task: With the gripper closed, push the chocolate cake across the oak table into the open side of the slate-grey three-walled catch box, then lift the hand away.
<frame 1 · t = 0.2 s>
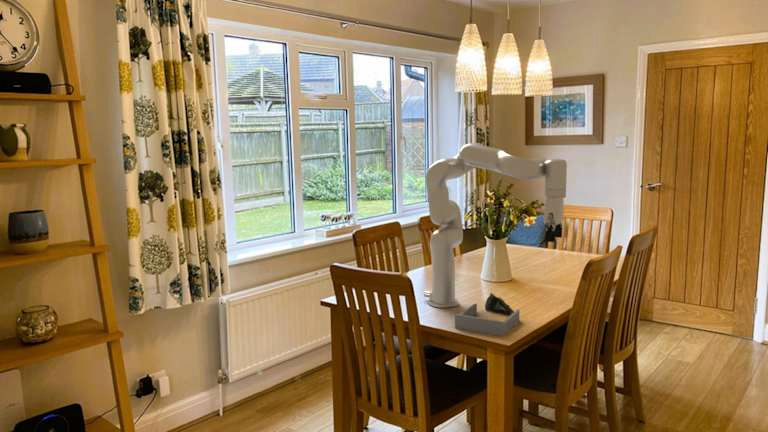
hand: (554, 239, 212), 31 cm above the table, tool pointing down, fingers open, 9 cm apart
chocolate cake: (502, 312, 228), on the table
catch box: (488, 323, 214), on the table
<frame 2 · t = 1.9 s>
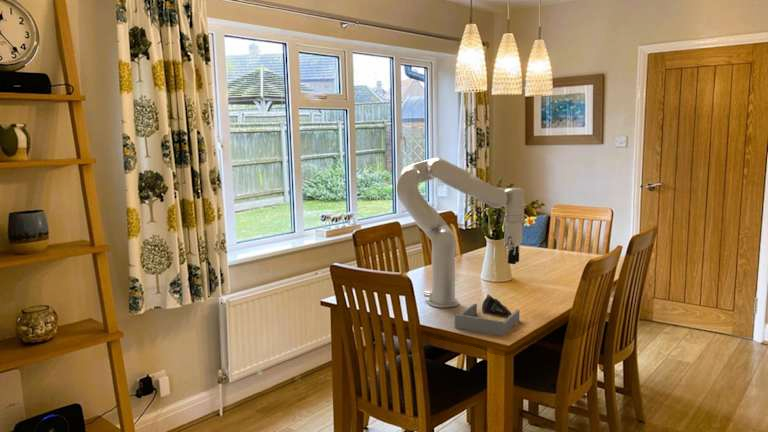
hand: (513, 262, 236), 17 cm above the table, tool pointing down, fingers open, 3 cm apart
chocolate cake: (499, 314, 226), on the table
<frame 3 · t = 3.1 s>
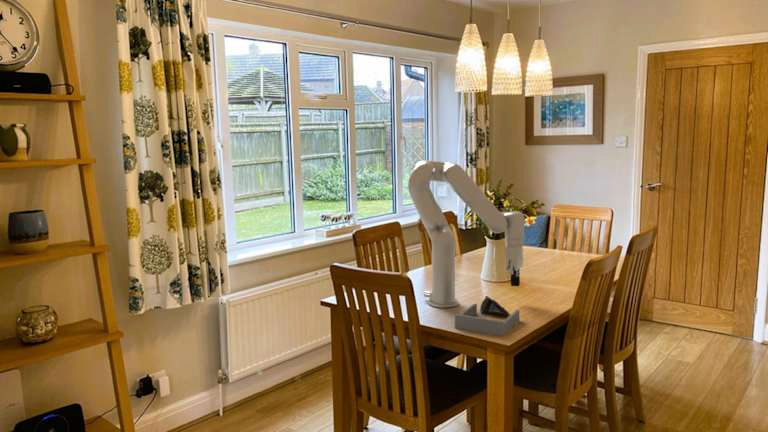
hand: (515, 285, 237), 7 cm above the table, tool pointing down, fingers closed
chocolate cake: (497, 315, 225), on the table
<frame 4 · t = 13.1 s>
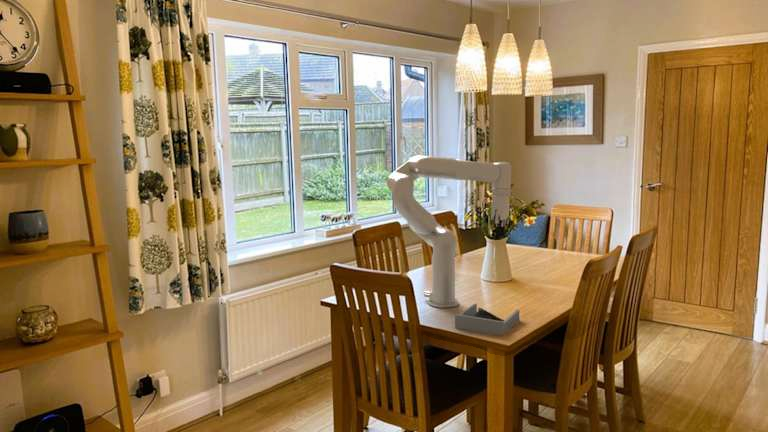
hand: (500, 235, 241), 27 cm above the table, tool pointing down, fingers closed
chocolate cake: (490, 326, 212), on the table
at the end: chocolate cake inside the target area (1.7 cm from its centre), on the table; chocolate cake moved 18.2 cm from its start; chocolate cake tilted 0° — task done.
